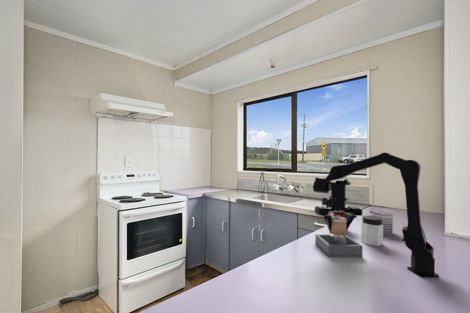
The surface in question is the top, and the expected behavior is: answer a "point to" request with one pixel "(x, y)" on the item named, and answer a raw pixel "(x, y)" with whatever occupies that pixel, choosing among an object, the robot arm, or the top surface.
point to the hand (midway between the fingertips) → (337, 230)
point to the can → (384, 219)
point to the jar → (372, 230)
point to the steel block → (336, 240)
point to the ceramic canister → (338, 225)
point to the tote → (338, 247)
